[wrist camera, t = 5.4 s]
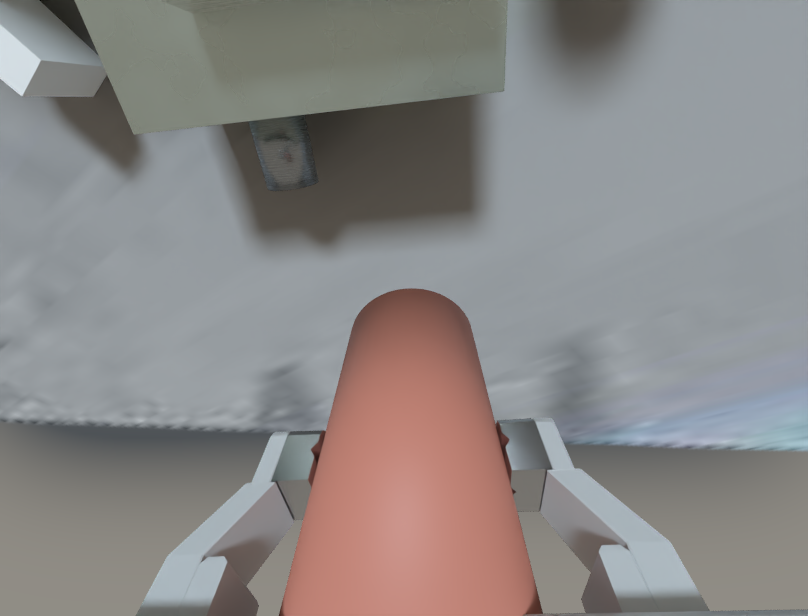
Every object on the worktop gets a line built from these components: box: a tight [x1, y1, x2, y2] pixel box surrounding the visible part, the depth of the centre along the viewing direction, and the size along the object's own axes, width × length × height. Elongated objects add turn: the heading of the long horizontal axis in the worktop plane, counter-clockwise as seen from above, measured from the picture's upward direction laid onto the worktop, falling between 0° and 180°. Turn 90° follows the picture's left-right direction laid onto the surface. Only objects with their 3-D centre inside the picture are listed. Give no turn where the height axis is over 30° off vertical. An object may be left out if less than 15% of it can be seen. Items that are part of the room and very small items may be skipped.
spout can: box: [279, 289, 543, 616], centre depth 9 cm, size 5×5×13 cm
